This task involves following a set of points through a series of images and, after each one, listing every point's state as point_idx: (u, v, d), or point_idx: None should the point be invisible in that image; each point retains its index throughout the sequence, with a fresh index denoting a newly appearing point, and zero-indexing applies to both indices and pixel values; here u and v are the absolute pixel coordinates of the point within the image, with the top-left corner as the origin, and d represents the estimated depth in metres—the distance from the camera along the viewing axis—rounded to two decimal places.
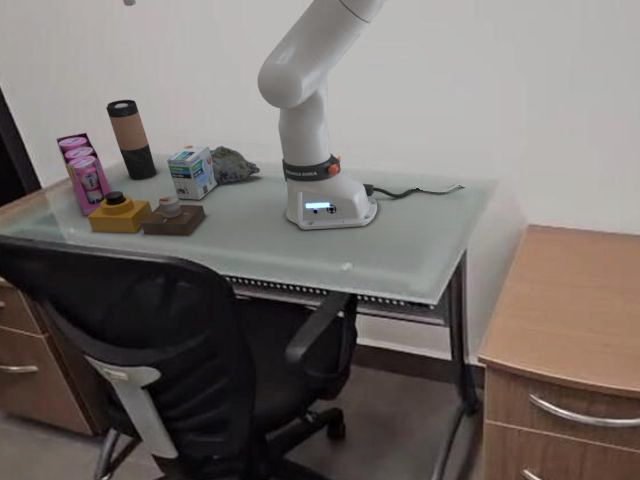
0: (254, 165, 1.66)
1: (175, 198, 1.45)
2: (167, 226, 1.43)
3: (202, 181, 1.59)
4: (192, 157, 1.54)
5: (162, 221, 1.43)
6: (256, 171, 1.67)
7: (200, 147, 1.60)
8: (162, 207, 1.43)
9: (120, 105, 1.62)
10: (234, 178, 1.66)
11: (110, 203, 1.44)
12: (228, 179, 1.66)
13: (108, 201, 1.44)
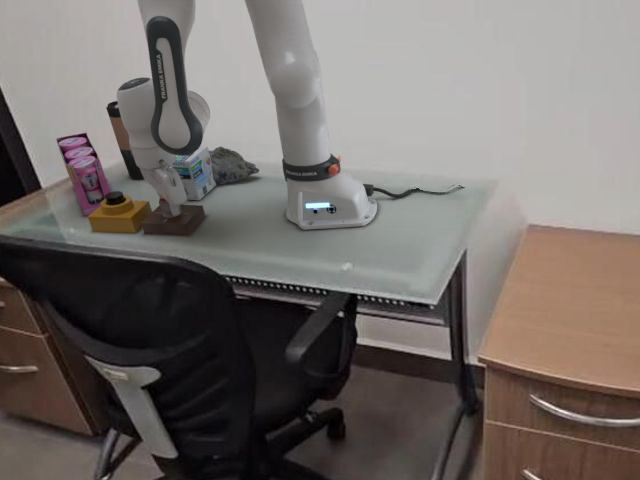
0: (253, 165, 1.66)
1: None
2: (167, 226, 1.43)
3: (202, 181, 1.59)
4: (191, 158, 1.54)
5: (162, 221, 1.43)
6: (255, 171, 1.67)
7: (199, 148, 1.60)
8: (162, 207, 1.43)
9: None
10: (234, 178, 1.66)
11: (110, 203, 1.44)
12: (227, 180, 1.66)
13: (108, 201, 1.44)
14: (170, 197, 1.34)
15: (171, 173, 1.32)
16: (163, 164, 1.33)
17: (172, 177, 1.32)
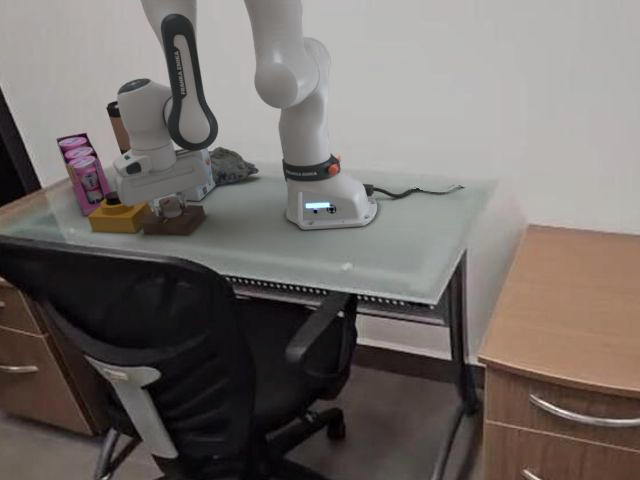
0: (253, 165, 1.66)
1: (166, 198, 1.45)
2: (167, 226, 1.43)
3: None
4: None
5: (162, 221, 1.43)
6: (255, 171, 1.67)
7: None
8: (176, 205, 1.44)
9: None
10: (233, 178, 1.66)
11: (110, 203, 1.44)
12: (227, 180, 1.66)
13: (108, 201, 1.44)
14: (206, 173, 1.45)
15: (199, 150, 1.43)
16: (184, 149, 1.41)
17: (201, 153, 1.44)
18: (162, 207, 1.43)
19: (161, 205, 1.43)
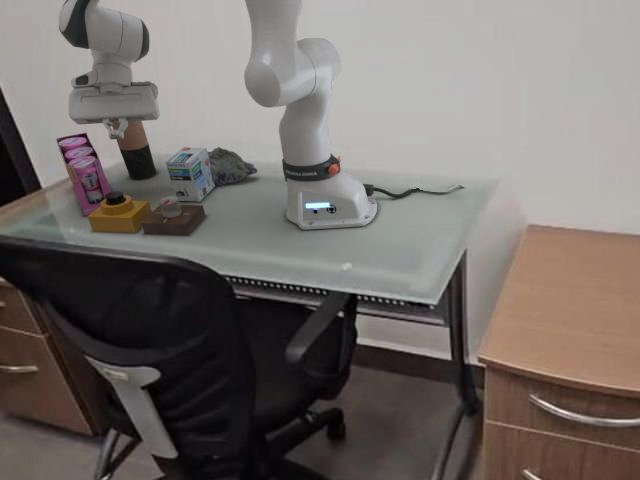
0: (252, 166, 1.66)
1: (166, 198, 1.45)
2: (167, 226, 1.43)
3: (202, 182, 1.58)
4: (191, 159, 1.53)
5: (162, 221, 1.43)
6: (254, 172, 1.67)
7: (198, 149, 1.59)
8: (176, 205, 1.44)
9: None
10: (232, 179, 1.65)
11: (110, 203, 1.44)
12: (226, 181, 1.65)
13: (108, 201, 1.44)
14: (153, 104, 1.47)
15: (156, 86, 1.49)
16: (141, 82, 1.49)
17: (157, 89, 1.49)
18: (162, 207, 1.43)
19: (161, 205, 1.43)
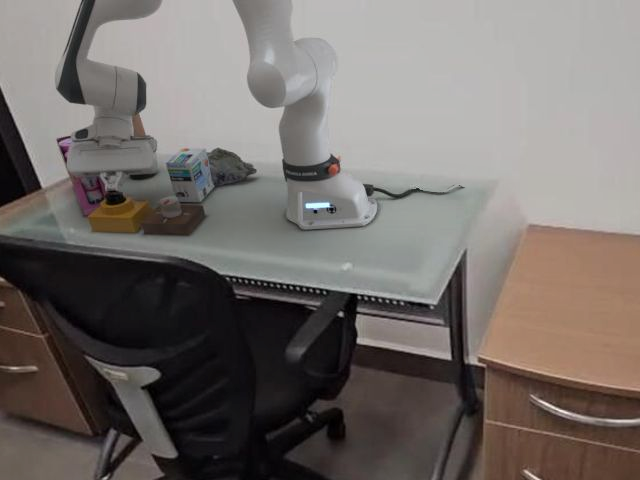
0: (251, 166, 1.66)
1: (166, 198, 1.45)
2: (167, 226, 1.43)
3: (202, 183, 1.58)
4: (191, 160, 1.53)
5: (162, 221, 1.43)
6: (253, 172, 1.67)
7: (197, 149, 1.59)
8: (176, 205, 1.44)
9: None
10: (232, 179, 1.65)
11: (110, 203, 1.44)
12: (225, 181, 1.65)
13: (108, 202, 1.44)
14: (151, 158, 1.45)
15: (155, 140, 1.47)
16: (140, 136, 1.47)
17: (156, 143, 1.47)
18: (162, 207, 1.43)
19: (161, 205, 1.43)
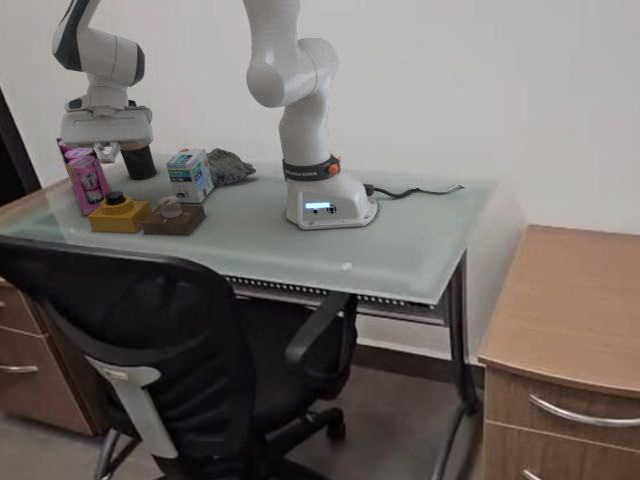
0: (251, 166, 1.65)
1: (166, 198, 1.45)
2: (167, 226, 1.43)
3: (202, 184, 1.57)
4: (191, 160, 1.53)
5: (162, 221, 1.43)
6: (253, 172, 1.67)
7: (196, 150, 1.58)
8: (176, 205, 1.44)
9: None
10: (232, 179, 1.65)
11: (110, 203, 1.44)
12: (225, 181, 1.65)
13: (108, 201, 1.44)
14: (146, 128, 1.43)
15: (150, 110, 1.45)
16: (135, 106, 1.45)
17: (151, 113, 1.45)
18: (162, 207, 1.43)
19: (161, 205, 1.43)
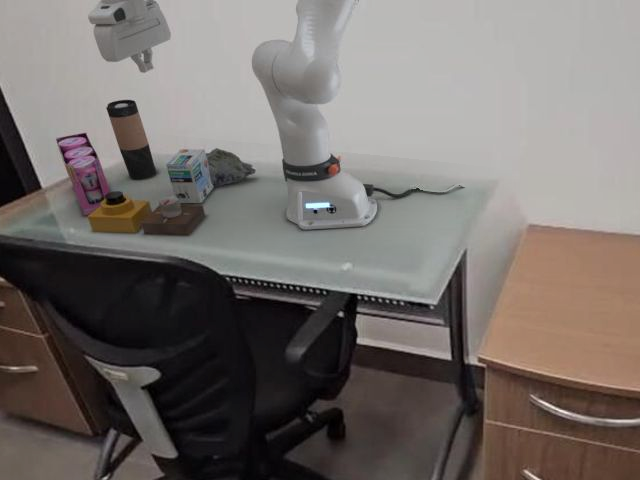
0: (250, 166, 1.65)
1: (166, 198, 1.45)
2: (167, 226, 1.43)
3: (202, 184, 1.57)
4: (192, 161, 1.52)
5: (162, 221, 1.43)
6: (252, 172, 1.67)
7: (196, 150, 1.58)
8: (176, 205, 1.44)
9: (120, 105, 1.62)
10: (231, 180, 1.65)
11: (110, 203, 1.44)
12: (225, 182, 1.65)
13: (108, 201, 1.44)
14: (168, 27, 1.47)
15: None
16: (146, 1, 1.41)
17: None
18: (162, 207, 1.43)
19: (161, 205, 1.43)
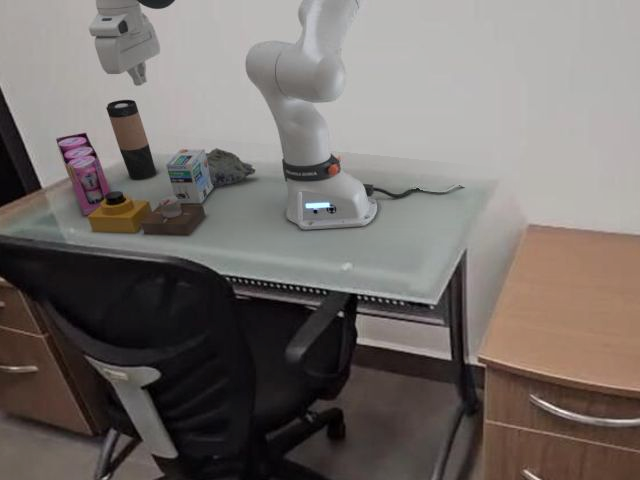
0: (250, 166, 1.65)
1: (166, 198, 1.45)
2: (167, 226, 1.43)
3: (202, 184, 1.57)
4: (192, 161, 1.52)
5: (162, 221, 1.43)
6: (252, 172, 1.67)
7: (196, 150, 1.58)
8: (176, 205, 1.44)
9: (120, 105, 1.62)
10: (231, 180, 1.65)
11: (110, 203, 1.44)
12: (224, 182, 1.65)
13: (108, 201, 1.44)
14: (158, 41, 1.47)
15: None
16: None
17: None
18: (162, 207, 1.43)
19: (161, 205, 1.43)
